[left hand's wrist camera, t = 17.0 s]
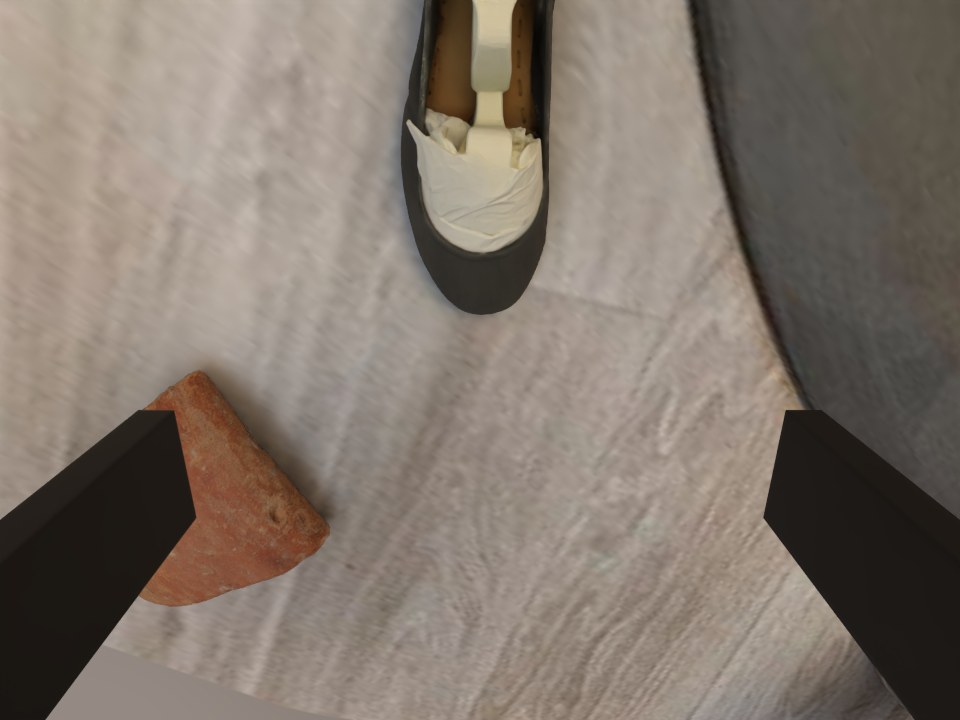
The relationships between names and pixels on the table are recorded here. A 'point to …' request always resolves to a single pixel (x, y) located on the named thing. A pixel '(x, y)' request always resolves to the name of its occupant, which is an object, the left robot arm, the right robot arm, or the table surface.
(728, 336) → the table surface
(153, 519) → the left robot arm
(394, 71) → the table surface
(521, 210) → the ballet flat
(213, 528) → the ceramic shard
